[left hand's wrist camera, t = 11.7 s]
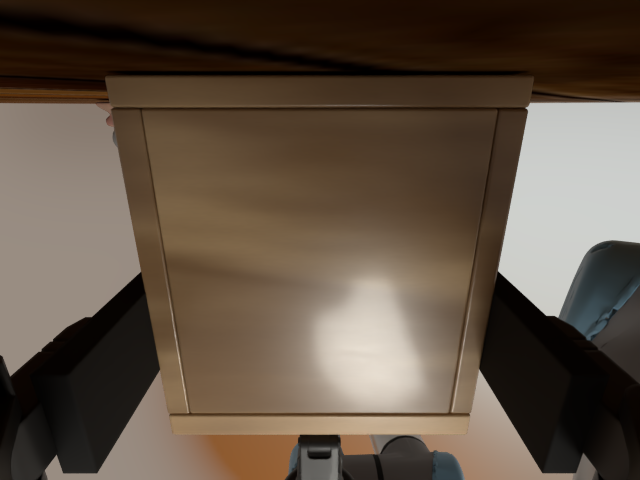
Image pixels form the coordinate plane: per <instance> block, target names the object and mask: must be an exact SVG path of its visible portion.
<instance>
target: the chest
mask: <svg viewBox="0 0 640 480" xmlns="http://www.w3.org/2000/svg"><path fill="white" fill-rule="evenodd" d="M105 81H106V86H107V91H108V97H109V102H110V105H111V107H113V108H112V109H111V115H112V120H113V125H114V130H115V136H116V141H117V146H118V152H119V157H120V162H121V167H122V172H123V178H124V183H125V188H126V194H127V199H128V204H129V209H130V215H131V220H132V225H133V230H134V236H135V241H136V246H137V251H138V257H139V262H140V267H141V272H142V278H143V283H144V288H145V292H146V298H147V303H148V308H149V313H150V319H151V324H152V329H153V335H154V340H155V345H156V350H157V356H158V361H159V366H160V372H161V378H162V383H163V388H164V393H165V399H166V404H167V409H168V413H189V412H191V413H449V411H450V412H451V413H470V412H471V410H472V404H473V399H474V394H475V389H476V383H477V378H478V373H479V367H480V362H481V357H482V352H483V346H484V341H485V336H486V330H487V325H488V320H489V315H490V309H491V304H492V299H493V293H494V288H495V283H496V278H497V272H498V267H499V262H500V256H501V251H502V246H503V240H504V235H505V230H506V225H507V219H508V214H509V209H510V203H511V198H512V193H513V188H514V182H515V177H516V172H517V166H518V161H519V156H520V151H521V145H522V140H523V135H524V129H525V124H526V119H527V114H528V110H527V109H526V107H528V106H529V103H530V98H531V93H532V88H533V82H534V76H532V75H107V76H105Z"/></svg>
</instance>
